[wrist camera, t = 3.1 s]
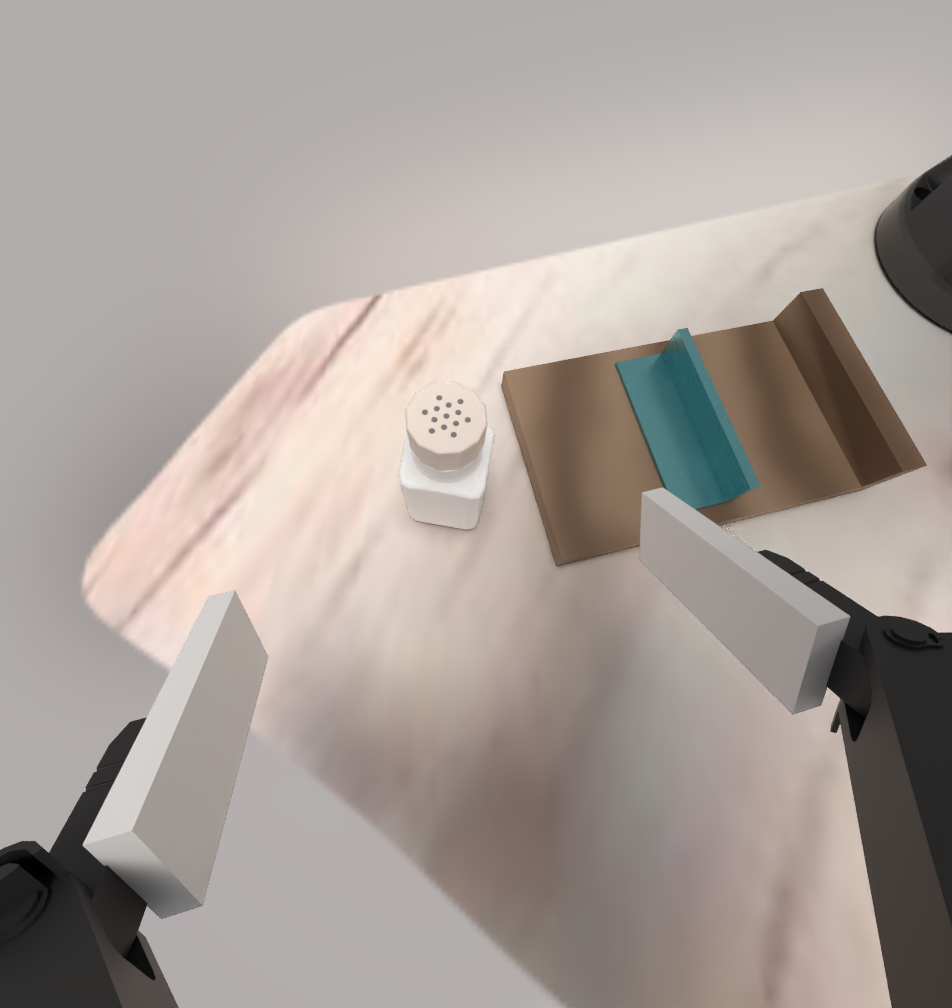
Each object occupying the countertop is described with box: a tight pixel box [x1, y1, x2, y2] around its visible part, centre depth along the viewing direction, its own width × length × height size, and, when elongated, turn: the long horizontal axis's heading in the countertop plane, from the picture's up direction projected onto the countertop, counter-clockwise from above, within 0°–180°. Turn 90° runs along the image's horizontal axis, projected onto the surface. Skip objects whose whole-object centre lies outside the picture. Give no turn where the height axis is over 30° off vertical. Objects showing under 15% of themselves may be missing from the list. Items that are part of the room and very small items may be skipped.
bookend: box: [615, 328, 761, 510], centre depth 25 cm, size 4×10×2 cm, turn 14°
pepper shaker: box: [398, 381, 495, 530], centre depth 22 cm, size 4×4×10 cm
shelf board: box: [501, 288, 926, 566], centre depth 26 cm, size 20×12×4 cm, turn 104°
